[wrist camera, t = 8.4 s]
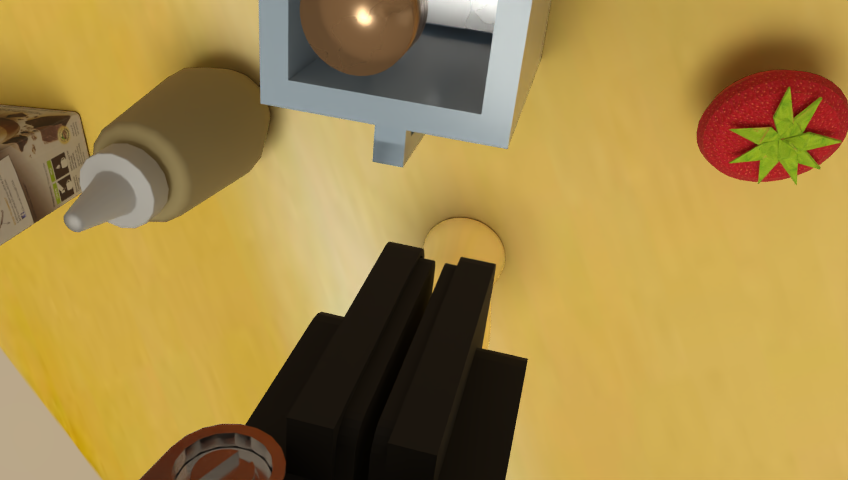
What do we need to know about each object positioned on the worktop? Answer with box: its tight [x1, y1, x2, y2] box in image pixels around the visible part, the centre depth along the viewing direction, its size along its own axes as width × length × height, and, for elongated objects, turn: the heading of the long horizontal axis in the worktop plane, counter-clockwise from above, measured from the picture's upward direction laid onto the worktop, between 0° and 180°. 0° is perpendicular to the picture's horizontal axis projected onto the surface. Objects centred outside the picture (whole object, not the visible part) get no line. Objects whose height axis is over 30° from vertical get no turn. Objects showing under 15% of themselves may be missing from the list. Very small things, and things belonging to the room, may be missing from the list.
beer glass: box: [423, 218, 505, 350], centre depth 48 cm, size 7×7×15 cm
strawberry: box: [697, 70, 848, 185], centre depth 40 cm, size 6×8×10 cm
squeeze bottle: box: [64, 68, 271, 232], centre depth 45 cm, size 8×8×18 cm
